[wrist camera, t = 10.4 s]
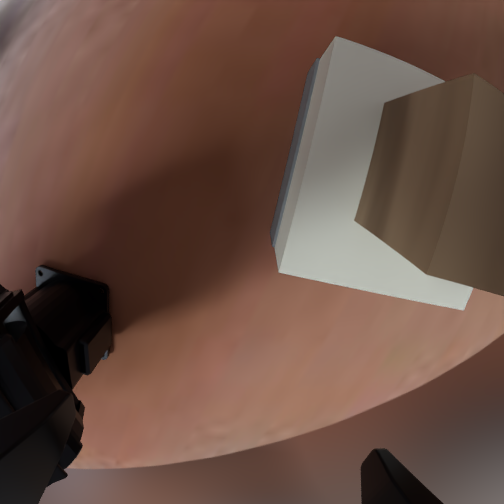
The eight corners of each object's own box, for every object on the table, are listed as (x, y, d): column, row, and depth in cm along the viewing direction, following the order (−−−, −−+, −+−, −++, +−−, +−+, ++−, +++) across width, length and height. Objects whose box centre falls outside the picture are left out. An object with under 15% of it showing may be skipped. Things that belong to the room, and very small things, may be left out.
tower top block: (274, 247, 16) (278, 272, 13) (319, 59, 13) (335, 36, 10) (434, 284, 17) (463, 310, 13) (476, 125, 14) (514, 124, 10)
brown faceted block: (353, 220, 12) (426, 274, 6) (384, 102, 11) (474, 72, 5) (447, 249, 12) (534, 305, 7) (475, 147, 11) (573, 155, 5)
